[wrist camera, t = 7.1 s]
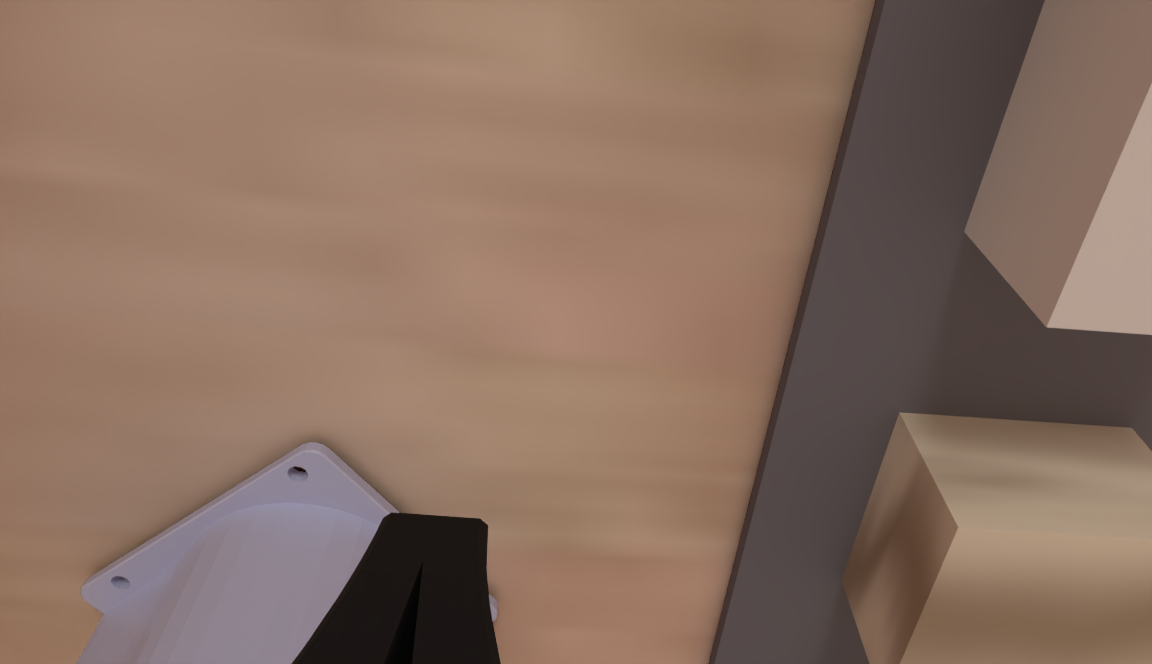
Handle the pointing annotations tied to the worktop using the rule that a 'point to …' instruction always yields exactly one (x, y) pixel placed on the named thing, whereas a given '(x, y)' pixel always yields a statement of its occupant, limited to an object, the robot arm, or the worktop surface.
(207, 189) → the worktop surface
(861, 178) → the tap mat
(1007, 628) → the plain block
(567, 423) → the worktop surface
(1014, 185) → the numeral block one
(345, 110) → the worktop surface
